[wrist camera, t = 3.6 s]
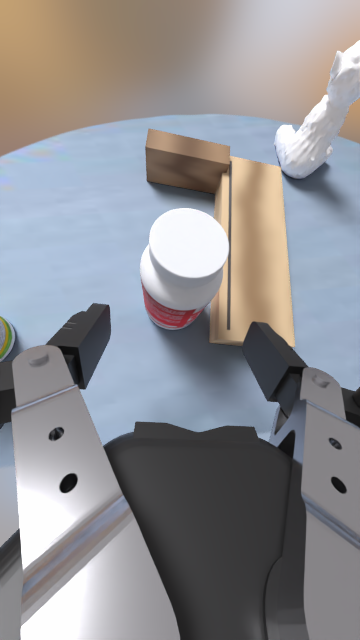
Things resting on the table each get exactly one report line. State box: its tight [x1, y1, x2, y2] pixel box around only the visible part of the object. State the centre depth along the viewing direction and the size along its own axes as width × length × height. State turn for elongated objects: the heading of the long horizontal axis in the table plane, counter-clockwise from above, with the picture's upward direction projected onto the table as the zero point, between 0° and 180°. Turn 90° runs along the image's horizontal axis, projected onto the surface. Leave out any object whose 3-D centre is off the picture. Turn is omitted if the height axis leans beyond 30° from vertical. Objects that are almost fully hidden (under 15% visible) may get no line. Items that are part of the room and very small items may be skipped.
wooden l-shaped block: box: [145, 129, 295, 347], centre depth 21 cm, size 18×24×4 cm
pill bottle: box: [140, 208, 229, 330], centre depth 16 cm, size 6×6×11 cm
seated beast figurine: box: [274, 40, 360, 179], centre depth 24 cm, size 10×9×12 cm
